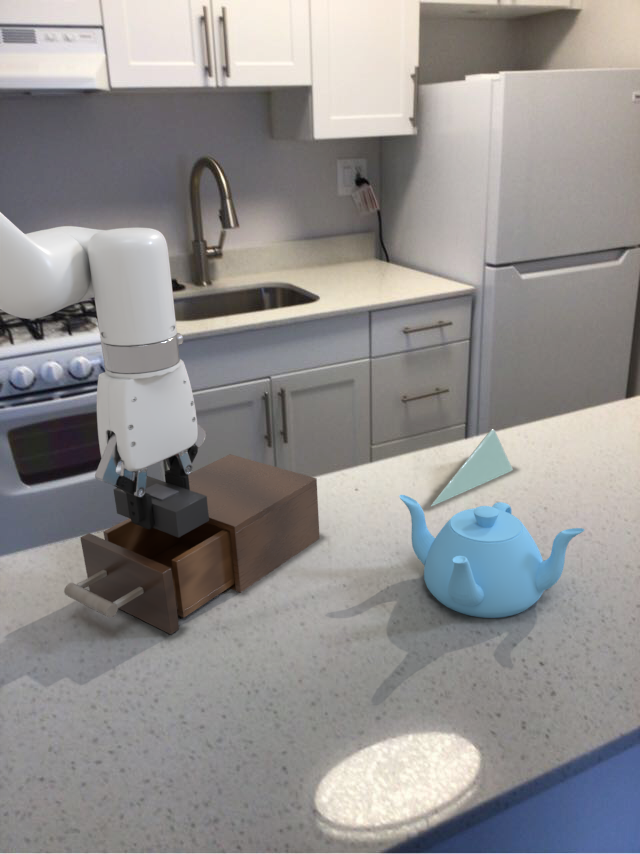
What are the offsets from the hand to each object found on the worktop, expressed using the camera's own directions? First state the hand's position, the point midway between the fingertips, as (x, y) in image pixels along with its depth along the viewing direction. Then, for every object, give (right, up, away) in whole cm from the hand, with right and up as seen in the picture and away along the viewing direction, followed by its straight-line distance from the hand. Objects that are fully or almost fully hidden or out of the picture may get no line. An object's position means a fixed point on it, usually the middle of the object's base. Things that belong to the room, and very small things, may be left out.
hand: (161, 513), depth 83 cm
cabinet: (+7, -6, +11) cm, 15 cm away
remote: (0, 0, 0) cm, 0 cm away
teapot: (+35, -9, 0) cm, 36 cm away
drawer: (-1, -9, +2) cm, 9 cm away
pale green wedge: (+39, 0, +25) cm, 46 cm away
